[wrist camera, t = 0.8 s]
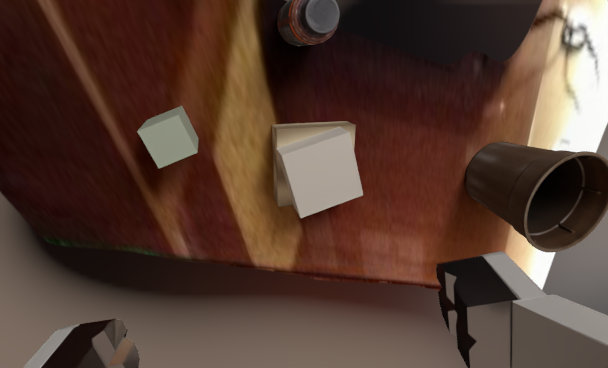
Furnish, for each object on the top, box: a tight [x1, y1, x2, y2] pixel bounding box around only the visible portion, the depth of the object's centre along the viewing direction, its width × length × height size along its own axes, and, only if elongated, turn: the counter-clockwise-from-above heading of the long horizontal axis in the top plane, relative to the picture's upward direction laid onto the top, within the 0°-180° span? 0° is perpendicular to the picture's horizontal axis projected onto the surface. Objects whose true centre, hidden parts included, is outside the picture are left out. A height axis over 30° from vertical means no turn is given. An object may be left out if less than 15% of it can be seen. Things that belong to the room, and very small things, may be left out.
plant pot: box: [465, 142, 608, 252], centre depth 59 cm, size 16×16×16 cm
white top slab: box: [276, 127, 363, 218], centre depth 51 cm, size 10×10×4 cm
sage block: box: [137, 106, 198, 168], centre depth 45 cm, size 5×5×8 cm
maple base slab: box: [272, 121, 355, 207], centre depth 54 cm, size 12×12×4 cm
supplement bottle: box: [277, 0, 339, 46], centre depth 43 cm, size 6×6×11 cm
